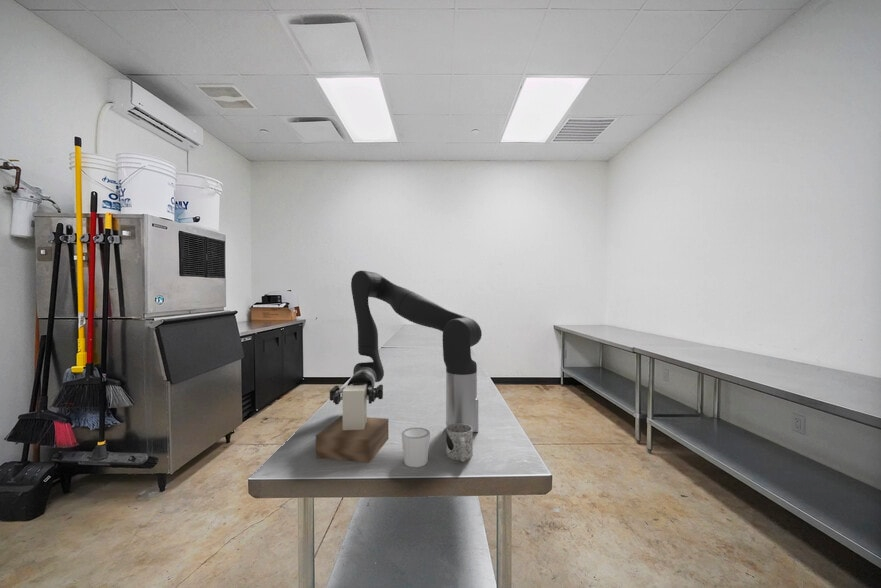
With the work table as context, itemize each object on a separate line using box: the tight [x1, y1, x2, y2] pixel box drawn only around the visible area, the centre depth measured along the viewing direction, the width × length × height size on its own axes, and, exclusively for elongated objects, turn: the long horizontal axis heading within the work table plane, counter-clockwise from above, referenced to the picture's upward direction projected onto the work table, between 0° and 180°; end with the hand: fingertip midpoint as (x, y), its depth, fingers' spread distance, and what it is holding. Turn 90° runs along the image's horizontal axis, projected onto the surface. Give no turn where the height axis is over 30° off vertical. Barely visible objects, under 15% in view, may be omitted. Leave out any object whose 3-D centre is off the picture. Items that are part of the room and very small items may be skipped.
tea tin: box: [342, 385, 368, 430], centre depth 91 cm, size 5×5×10 cm
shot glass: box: [401, 427, 431, 468], centre depth 83 cm, size 7×7×7 cm
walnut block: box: [315, 415, 389, 464], centre depth 91 cm, size 14×14×6 cm
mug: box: [445, 423, 474, 463], centre depth 85 cm, size 10×7×7 cm, turn 4°
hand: (353, 400), depth 89 cm, fingers open, 8 cm apart
